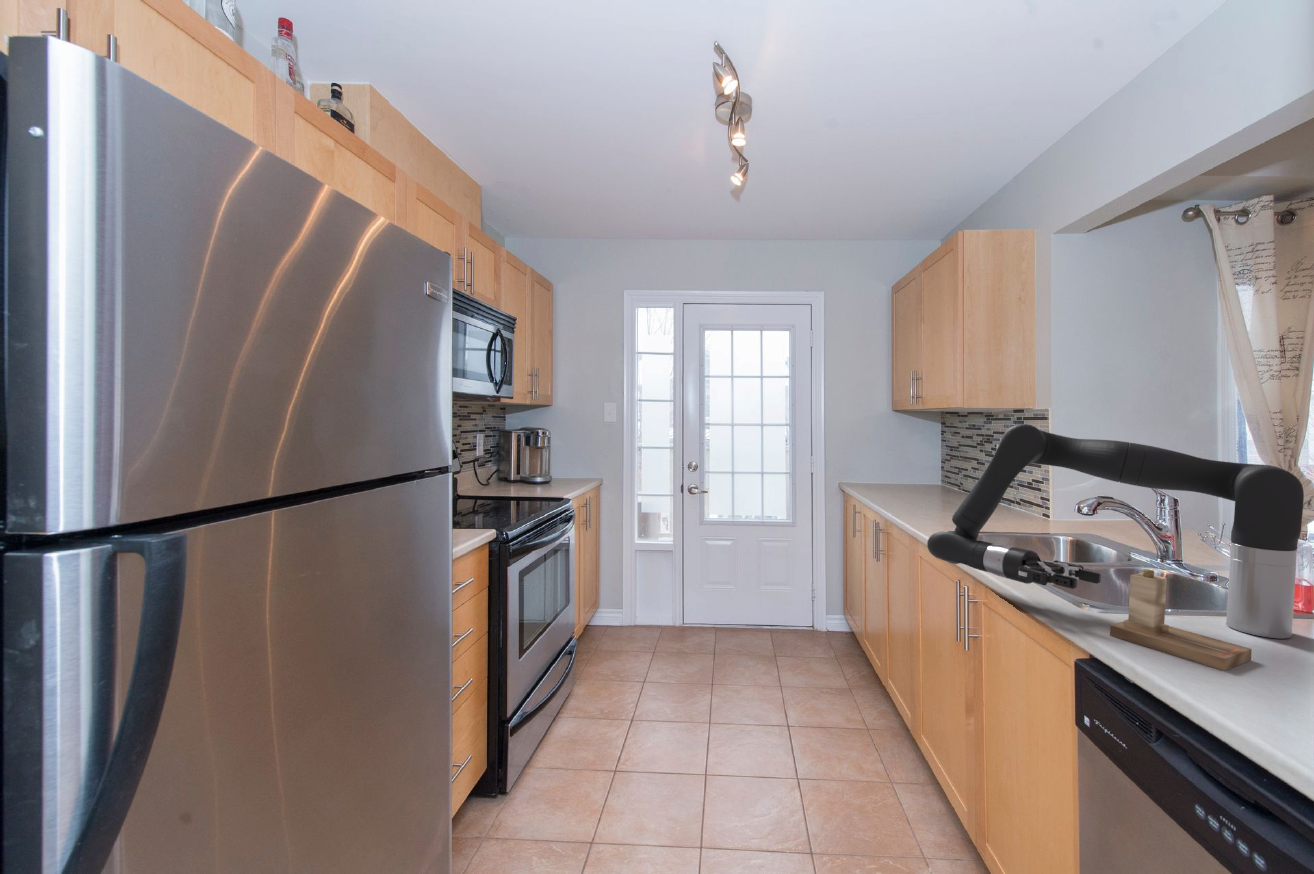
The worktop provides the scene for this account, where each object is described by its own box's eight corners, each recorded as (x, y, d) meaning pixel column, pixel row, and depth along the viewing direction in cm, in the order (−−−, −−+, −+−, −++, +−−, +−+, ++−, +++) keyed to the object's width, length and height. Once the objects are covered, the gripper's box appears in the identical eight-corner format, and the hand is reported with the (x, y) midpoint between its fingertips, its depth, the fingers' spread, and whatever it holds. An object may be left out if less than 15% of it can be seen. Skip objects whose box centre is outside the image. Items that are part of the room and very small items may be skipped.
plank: (1137, 627, 118) (1138, 617, 118) (1251, 659, 103) (1251, 648, 103) (1110, 635, 114) (1110, 625, 114) (1224, 670, 99) (1224, 659, 99)
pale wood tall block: (1137, 622, 115) (1140, 565, 115) (1171, 632, 111) (1174, 572, 110) (1123, 626, 113) (1126, 568, 113) (1157, 636, 108) (1160, 575, 108)
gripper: (991, 549, 132) (1068, 567, 118) (1030, 543, 139) (1108, 559, 124) (990, 582, 133) (1066, 603, 118) (1029, 575, 139) (1106, 594, 124)
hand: (1087, 581), depth 121 cm, fingers open, 8 cm apart
